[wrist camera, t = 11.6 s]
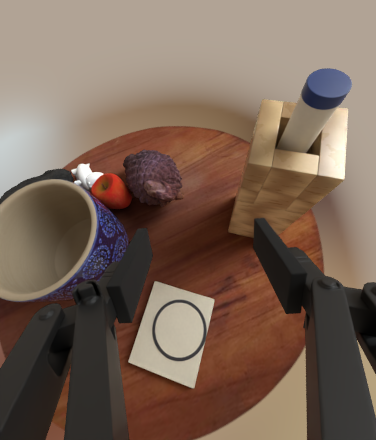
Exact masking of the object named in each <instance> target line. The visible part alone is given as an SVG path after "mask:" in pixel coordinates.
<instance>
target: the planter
mask: <svg viewBox="0 0 376 440" xmlns="http://www.w3.org/2000/svg"><path fill="white" fill-rule="evenodd" d="M128 246H129V241H128V236H127V233H126V231H125V228H124V227H123V225H122V223H121V222H120V221H119V220H118V218H117V217H116V216H115V215H114V214H113V213H112V212H111V211H110V210H109V209H108V208H107V207H106V206H105V205H103V204H102V203H101V202H100V201H99V200H98V199H96V198H95V197H94V196H93V195H91V194H90V193H89V192H88V191H86V190H85V189H83V188H82V187H80V186H79V185H77V184H75V183H73V182H70V181H66V180H61V179H49V180H42V181H38V182H35V183H32V184H30V185H27V186H25V187H23V188H21V189H20V190H18V191H16V192H15V193H13V194H12V195H11V196H9V197H8V198H7V199H6V200H4V201H3V202H2V203H1V204H0V298H2V299H4V300H8V301H13V302H48V301H62V300H71V299H74V298H73V296H72V290H73V289H74V288H75V287H76V286H77V285H78V284H80V283H82V282H84V281H87V280H96V281H99V280H100V278H102V275H103V273H104V272H105V270H106V268H107V267H108V266H109V265H110V264H111V263H113V262H119V261H120V260H121V258H122V257H123V255H124V253H125V251H126V249H127V247H128Z"/></svg>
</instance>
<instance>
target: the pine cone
mask: <svg viewBox="0 0 376 440" xmlns="http://www.w3.org/2000/svg"><path fill="white" fill-rule="evenodd" d="M175 165H176V164H175V163H174V162H173V159H171V158H170V156H169V155H165V154H161V153H160V152H158V151H154V150H151V151H150V150H148V151H147V150H143V151H141V152H139V153H137V154H136V155H134V154H130V155H129V156H127V157H126V158H125V160H124V163H123V166H124V167H125V174H126V177H127V178H126V181H127V183H128V186H129V189H130V190H131V191H132V192H133V193H134V196H135V197H137V198H139V200H140V202H141V203H145V202H146V203H147V204H148V205H151V204H154V205H158V204H160V205H161V206H162V207H163V206H164V205H166V204H167V202H170V201H172V200H179V199H183V198H184V197H183V194H182V193H181V192H180V190H179V189H180V188H182V184H181V182H180V181H181V179H182V178H181V176H180V174H179V170H178V169H177V167H176V166H175Z"/></svg>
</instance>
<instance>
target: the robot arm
mask: <svg viewBox="0 0 376 440" xmlns="http://www.w3.org/2000/svg"><path fill="white" fill-rule="evenodd" d="M253 248H254V250H255V252H256V254H257V256H258V258H259V260H260V262H261V264H262V266H263V268H264V270H265V272H266V274H267V276H268V278H269V281H270V283H271V285H272V287H273V289H274V291H275V293H276V295H277V297H278V299H279V301H280V303H281V305H282V307H283V309H284V311H285V313H286V314H293V313H301V307H302V306H303V308H304V309H305V311H306V316H305V321H304V326H303V328H305V340H306V391H307V392H306V398H307V440H376V417H375V413H374V409H373V405H372V400H371V396H370V393H369V388H368V384H367V380H366V376H365V372H364V368H363V364H362V360H361V355H360V352H359V347H358V343H357V340H358V342H359V344H360V346H361V348H362V349H363V351H364V353H365V355H366V357H367V359H368V361H369V362H370V364H371V366H372V368H373V370H374V372H375V374H376V283H374V282H372V283H366V284H365V285H364V287H363V290H361V289H355V288H348V287H343V285H342V284H341V283H340V282H339V281H338V280H336V279H334V278H331V277H328V276H325V275H324V274H323V273H322V272H321V271H320V270H319V268H318V267H317V266H316V265H315V264H314V263H313V262H312V261H311V259H310V258H308V256H307V255H306V254H305V253H304V252H303V251H302V250H300V249H298V248H297V247H293V248H287V246H286V245H285V244H284V242H283V241H282V240H281V239H280V237H279V236H278V235H277V234H276V232H275V231H274V230H273V228H272V227H271V226H270V225H269V223H268V222H267V221H266V220H265V218H255V219H254V242H253ZM152 257H153V254H152V249H151V245H150V240H149V236H148V231H147V228H141V229H137V231H136V233H135V235H134V237H133V238H132V240H131V242H130V244H129V246H128V247H127V249H126V251H125V253H124V255H123V257H122V258H121V260H120V261H119V262H113V263H111V264H110V265H109V266H108V267H107V268H106V270H105V272H104V273H103V275H102V278H100V280H99V281H96V280H87V281H84V282H82V283H80V284H78V285H77V286H76V287H75V288H74V289H73V290H72V296H73V298H74V300H75V302H76V304H77V305H74V306H71V307H67V308H64V309H62V307H61V305H60V304H57V303H55V304H50V305H47V306H45V307H43V308H41V309H40V310H39V311H38V312H36V314H35V315H34V316H33V317H32V319H31V320H30V322H29V324H28V325H27V327H26V328H25V330H24V332H23V333H22V335H21V336H20V338H19V340H18V341H17V343H16V344H15V346H14V347H13V349H12V351H11V352H10V354H9V355H8V357H7V359H6V360H5V362H4V363H3V365H2V367H1V368H0V440H45V439H46V436H47V433H48V430H49V427H50V424H51V422H52V419H53V416H54V413H55V410H56V407H57V404H58V401H59V398H60V395H61V392H62V389H63V386H64V383H65V380H66V377H67V374H68V371H69V368H70V365H71V372H70V382H69V393H68V403H67V414H66V424H65V435H64V440H129V434H128V426H127V417H126V409H125V401H124V393H123V385H122V377H121V368H120V360H119V352H118V344H117V336H116V328H115V325H114V321H115V319H116V317H117V319H118V322H119V323H132V321H133V318H134V314H135V311H136V308H137V305H138V302H139V298H140V295H141V292H142V289H143V286H144V283H145V279H146V276H147V273H148V270H149V267H150V264H151V260H152ZM356 338H357V339H356Z"/></svg>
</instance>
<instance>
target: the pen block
mask: <svg viewBox="0 0 376 440" xmlns="http://www.w3.org/2000/svg"><path fill="white" fill-rule="evenodd" d="M296 104H297V103H292V102H281V101H274V100H265V99H263V100H262V102H261V106H260V110H259V113H258V117H257V121H256V125H255V129H254V132H253V136H252V139H251V143H250V147H249V150H248V154H247V158H246V161H245V165H244V169H243V172H242V176H241V180H240V184H239V187H238V191H237V195H236V199H235V203H234V207H233V211H232V216H231V220H230V224H229V228H228V232H230V233H234V234H238V235H243V236H247V237H251V238H254V219H255V218H265V220H266V221H267V222H268V223H269V225H270V226H271V227H272V228H273V230H274V231H275V232H276V234H277V235H279V234H281V233H282V232H283V231H284V230H285V229H286V228H288V227H289V226H290V225H291V224H292V223H294V222H295V221H296V220H297V219H298V218H300V217H301V216H302V215H303V214H304V213H306V212H307V211H308V210H309V209H310V208H312V207H313V206H314V205H315V204H316V203H318V202H319V201H320V200H321V199H322V198H324V197H325V196H326V195H327V194H328V193H329V192H331V191H332V190H333V189H334V188H335V187H337V186H338V185H339V184H340V183H341V182H343V181H344V177H345V158H346V140H347V120H348V109H345V108H337V109H336V110H335V112H334V113H333V114H332V116H331V117H330V119H329V120H328V122H327V123H326V125H325V126H324V128H323V129H322V131H321V132H320V133H319V135H318V136H317V138H316V139H315V141H314V142H313V144H312V145H311V147H310V148H309V149H308V151H307V152H306V153H300V152H294V151H287V150H281V149H276V148H277V146H278V143H279V141H280V139H281V137H282V135H283V132H284V130H285V128H286V126H287V124H288V122H289V119H290V117H291V115H292V113H293V111H294V108H295V106H296Z"/></svg>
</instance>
